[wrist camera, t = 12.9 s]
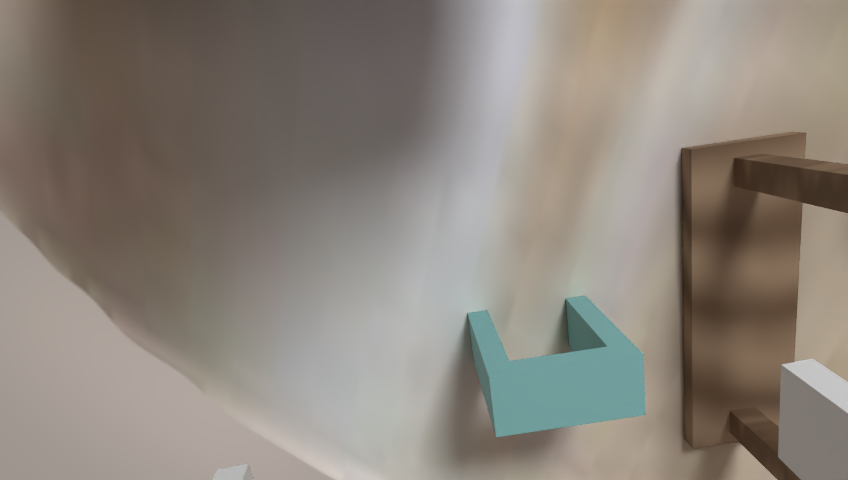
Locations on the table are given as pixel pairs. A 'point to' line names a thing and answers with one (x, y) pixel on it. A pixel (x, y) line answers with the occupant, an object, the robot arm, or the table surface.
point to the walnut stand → (745, 283)
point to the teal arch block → (560, 375)
